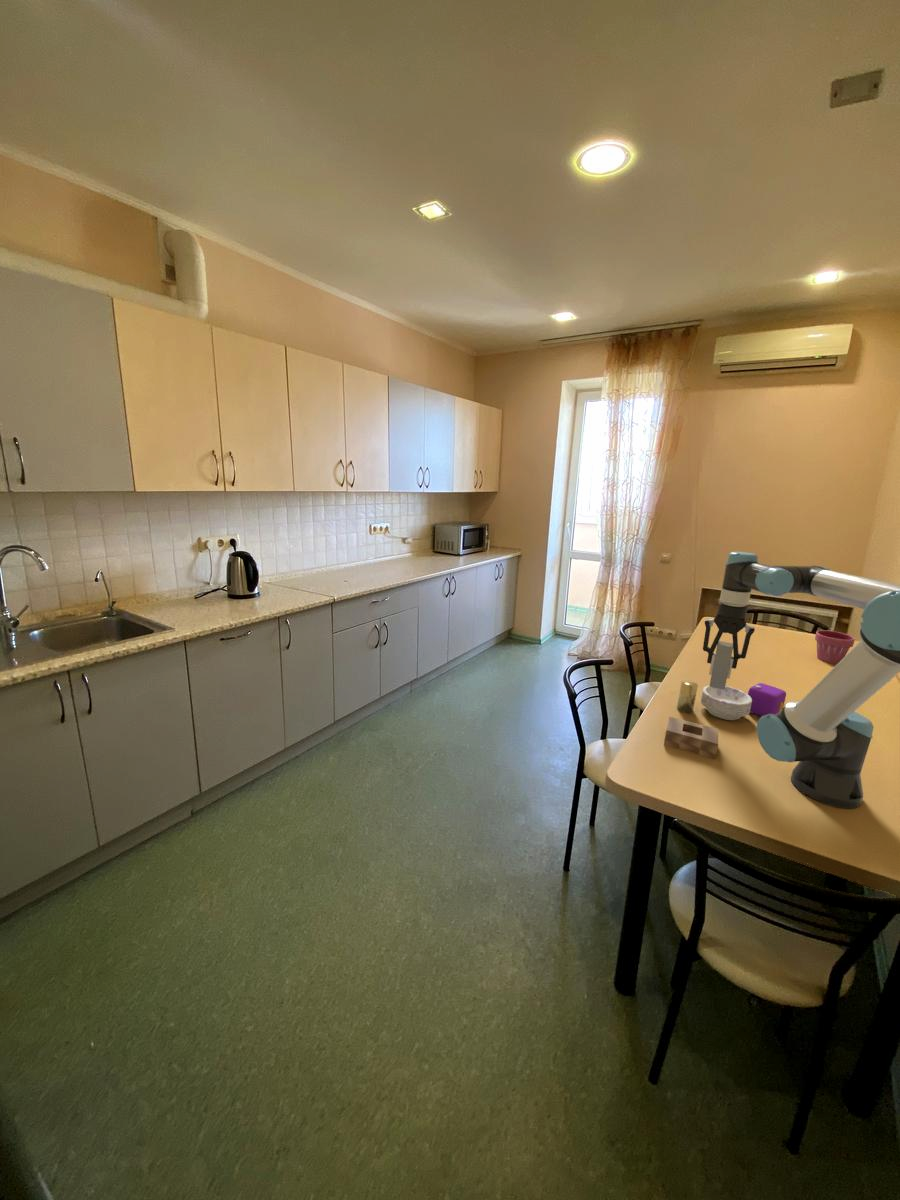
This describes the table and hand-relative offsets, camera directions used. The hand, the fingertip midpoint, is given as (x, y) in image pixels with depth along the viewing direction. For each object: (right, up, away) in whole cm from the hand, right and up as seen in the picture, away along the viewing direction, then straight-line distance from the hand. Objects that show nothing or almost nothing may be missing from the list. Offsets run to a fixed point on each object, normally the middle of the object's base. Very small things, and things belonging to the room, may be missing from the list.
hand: (719, 675), depth 147 cm
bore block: (-10, -21, -1) cm, 24 cm away
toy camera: (+29, -17, +22) cm, 40 cm away
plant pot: (+96, -5, +76) cm, 122 cm away
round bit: (0, -16, +21) cm, 26 cm away
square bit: (0, -4, +1) cm, 4 cm away
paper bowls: (+12, -17, +19) cm, 28 cm away
